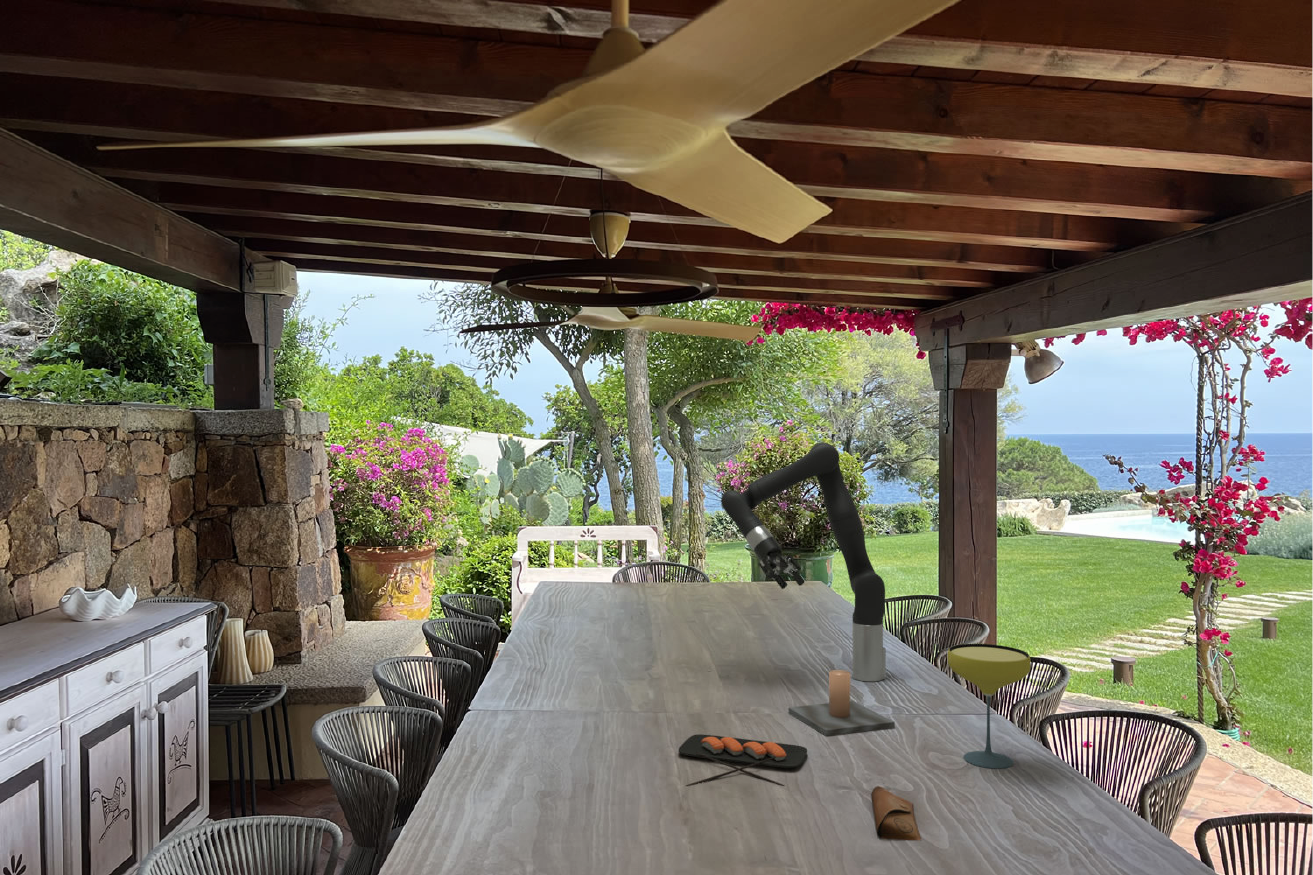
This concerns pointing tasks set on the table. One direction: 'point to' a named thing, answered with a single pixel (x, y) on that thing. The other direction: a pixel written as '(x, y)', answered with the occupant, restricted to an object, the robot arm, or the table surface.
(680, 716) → the table surface
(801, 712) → the charcoal board
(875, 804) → the sunglasses case
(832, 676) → the tan dome-topped cylinder
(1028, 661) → the cocktail glass
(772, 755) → the sushi plate
